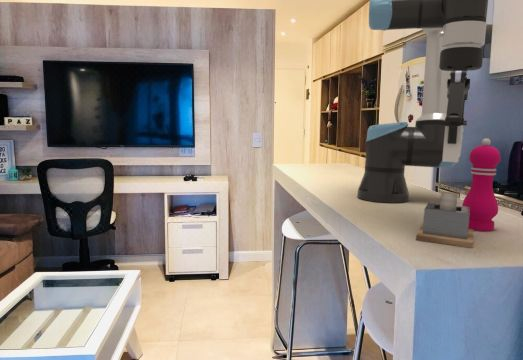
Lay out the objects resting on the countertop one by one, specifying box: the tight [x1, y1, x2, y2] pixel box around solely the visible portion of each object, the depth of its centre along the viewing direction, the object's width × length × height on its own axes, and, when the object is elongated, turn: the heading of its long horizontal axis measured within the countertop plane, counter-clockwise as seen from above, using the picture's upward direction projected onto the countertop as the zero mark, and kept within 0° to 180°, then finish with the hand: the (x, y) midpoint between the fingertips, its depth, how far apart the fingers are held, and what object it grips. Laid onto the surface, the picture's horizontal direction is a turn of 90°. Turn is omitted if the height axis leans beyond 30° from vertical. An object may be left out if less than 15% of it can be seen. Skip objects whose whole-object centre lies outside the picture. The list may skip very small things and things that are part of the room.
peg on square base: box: [415, 191, 474, 249], centre depth 85 cm, size 12×10×9 cm
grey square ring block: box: [422, 202, 470, 239], centre depth 85 cm, size 8×8×5 cm
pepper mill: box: [461, 137, 501, 232], centre depth 93 cm, size 7×7×20 cm
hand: (451, 159), depth 84 cm, fingers open, 13 cm apart
